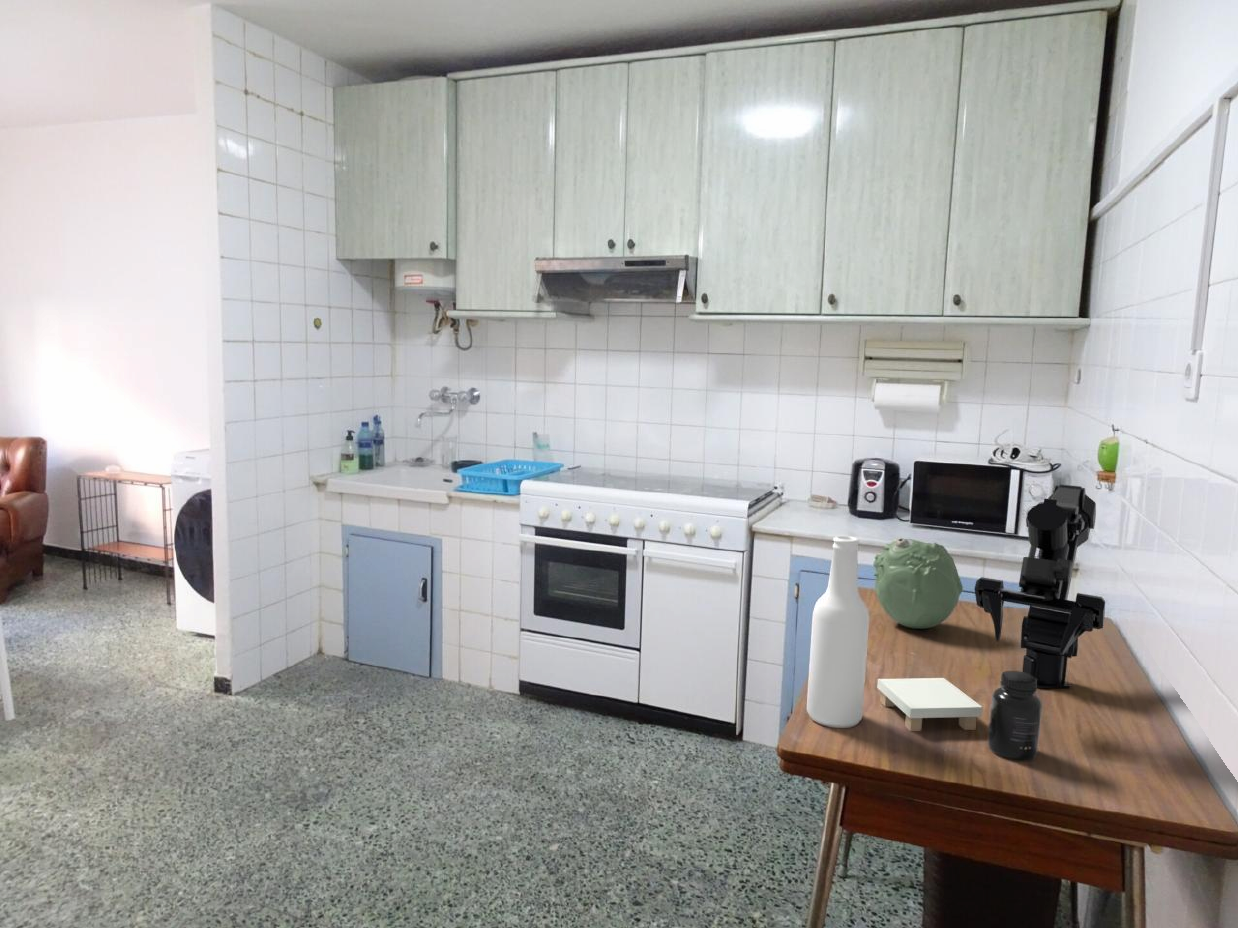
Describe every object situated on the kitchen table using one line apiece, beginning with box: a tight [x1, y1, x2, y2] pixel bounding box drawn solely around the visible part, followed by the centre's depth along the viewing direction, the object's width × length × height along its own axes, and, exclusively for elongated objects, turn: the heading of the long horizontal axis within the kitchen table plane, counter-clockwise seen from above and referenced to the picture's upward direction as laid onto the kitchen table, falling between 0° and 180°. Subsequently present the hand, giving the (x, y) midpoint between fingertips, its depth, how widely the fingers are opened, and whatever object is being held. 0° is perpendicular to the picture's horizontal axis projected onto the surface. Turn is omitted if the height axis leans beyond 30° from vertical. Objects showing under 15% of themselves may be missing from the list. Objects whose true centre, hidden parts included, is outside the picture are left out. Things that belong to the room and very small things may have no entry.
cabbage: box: [872, 538, 964, 630], centre depth 181 cm, size 16×19×20 cm
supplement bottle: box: [987, 670, 1043, 762], centre depth 123 cm, size 7×7×12 cm
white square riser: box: [876, 677, 983, 732], centre depth 136 cm, size 12×12×4 cm
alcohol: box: [806, 535, 870, 729], centre depth 132 cm, size 9×9×30 cm
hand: (1028, 646), depth 129 cm, fingers open, 9 cm apart
